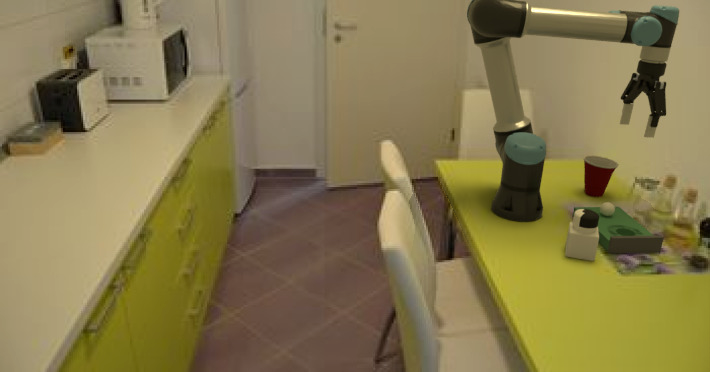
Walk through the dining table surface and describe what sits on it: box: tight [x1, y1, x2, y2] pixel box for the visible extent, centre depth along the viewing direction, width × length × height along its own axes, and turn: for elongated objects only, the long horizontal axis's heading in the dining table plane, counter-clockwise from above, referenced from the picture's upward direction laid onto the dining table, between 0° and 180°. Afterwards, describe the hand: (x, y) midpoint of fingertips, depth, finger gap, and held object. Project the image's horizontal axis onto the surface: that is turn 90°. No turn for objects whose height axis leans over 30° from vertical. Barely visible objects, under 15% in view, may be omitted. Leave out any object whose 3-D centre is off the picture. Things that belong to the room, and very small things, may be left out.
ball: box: [599, 201, 616, 216], centre depth 167 cm, size 4×4×4 cm
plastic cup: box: [583, 154, 620, 198], centre depth 188 cm, size 11×11×12 cm
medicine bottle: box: [565, 209, 599, 262], centre depth 150 cm, size 7×7×12 cm
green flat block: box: [572, 206, 664, 254], centre depth 163 cm, size 14×23×4 cm, turn 4°
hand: (636, 130), depth 176 cm, fingers open, 13 cm apart
